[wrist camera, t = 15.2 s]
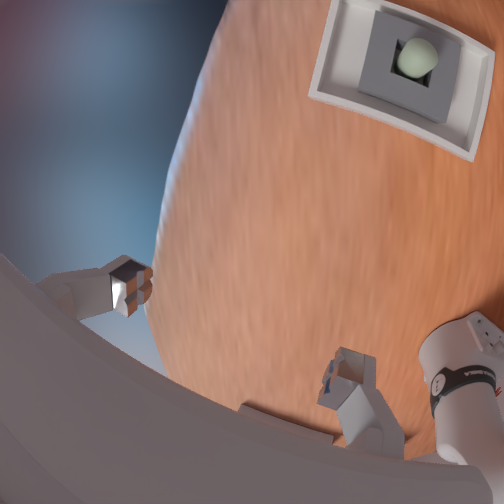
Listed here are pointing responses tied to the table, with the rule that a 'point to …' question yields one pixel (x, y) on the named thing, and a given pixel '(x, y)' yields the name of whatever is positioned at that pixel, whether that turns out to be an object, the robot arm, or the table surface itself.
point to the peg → (416, 59)
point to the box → (397, 87)
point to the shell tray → (285, 425)
